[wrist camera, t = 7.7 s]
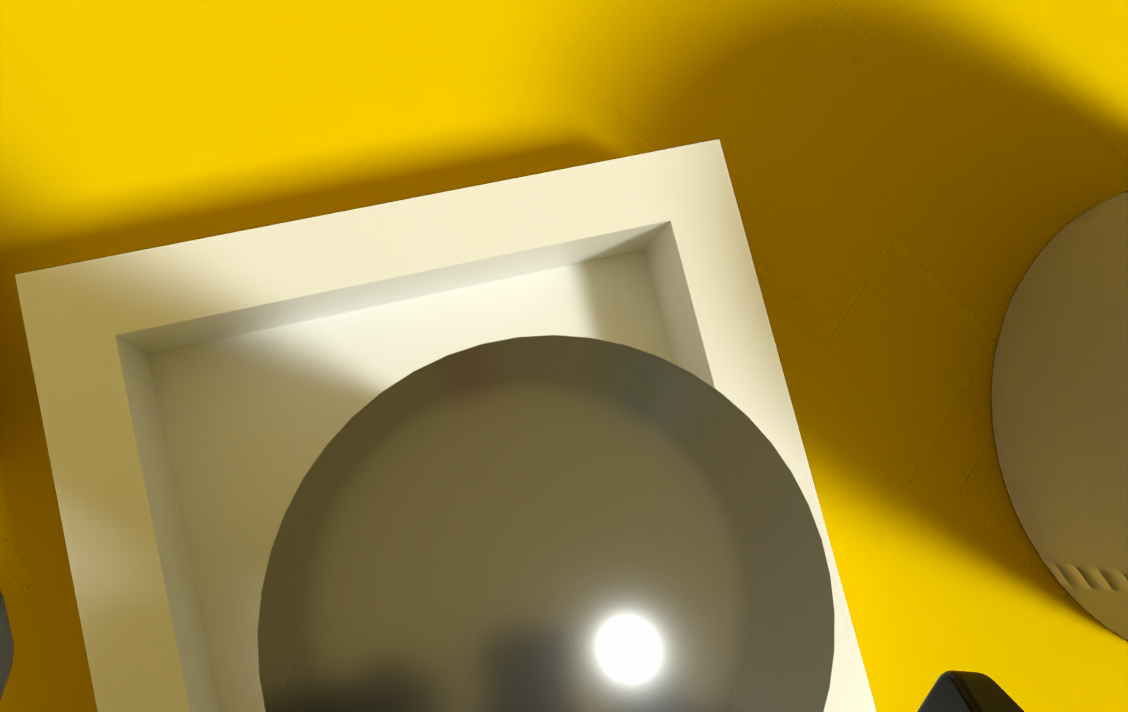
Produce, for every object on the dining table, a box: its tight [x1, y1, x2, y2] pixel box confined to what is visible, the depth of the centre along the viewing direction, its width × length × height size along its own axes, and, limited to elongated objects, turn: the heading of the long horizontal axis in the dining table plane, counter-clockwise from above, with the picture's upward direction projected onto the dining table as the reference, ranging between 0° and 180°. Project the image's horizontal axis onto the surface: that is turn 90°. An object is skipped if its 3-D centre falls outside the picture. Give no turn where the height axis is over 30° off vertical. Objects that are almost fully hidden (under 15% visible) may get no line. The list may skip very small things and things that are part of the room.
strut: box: [258, 335, 835, 712], centre depth 11 cm, size 4×4×11 cm
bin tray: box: [15, 139, 876, 712], centre depth 16 cm, size 11×11×2 cm
